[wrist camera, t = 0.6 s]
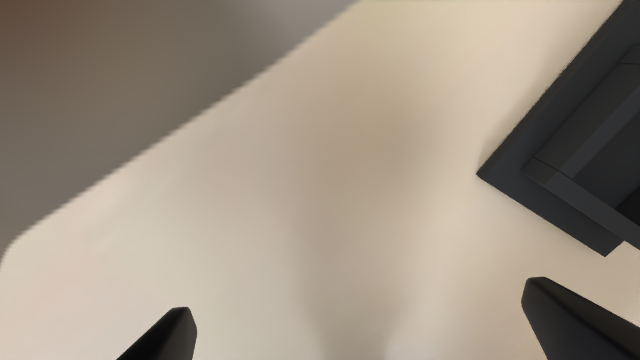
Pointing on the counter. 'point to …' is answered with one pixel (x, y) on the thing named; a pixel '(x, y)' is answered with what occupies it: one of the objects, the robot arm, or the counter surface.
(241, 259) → the counter surface
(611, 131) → the socket pad
